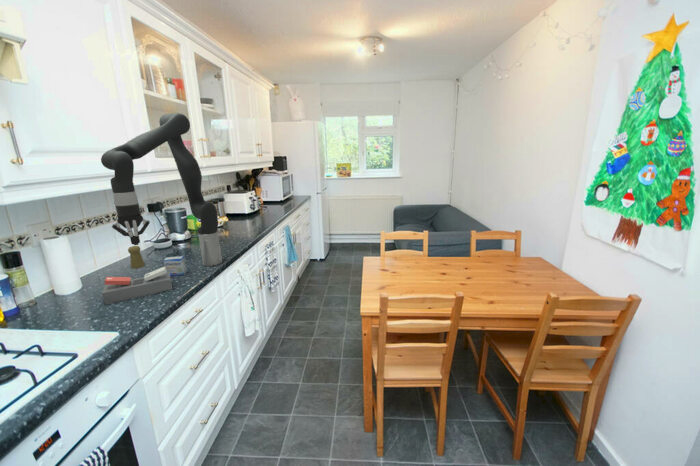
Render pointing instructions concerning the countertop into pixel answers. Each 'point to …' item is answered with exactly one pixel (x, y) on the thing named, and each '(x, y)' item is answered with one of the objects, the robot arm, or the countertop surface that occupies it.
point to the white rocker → (155, 273)
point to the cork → (135, 257)
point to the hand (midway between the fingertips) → (136, 244)
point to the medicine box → (175, 265)
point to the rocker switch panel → (136, 288)
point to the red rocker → (117, 280)
